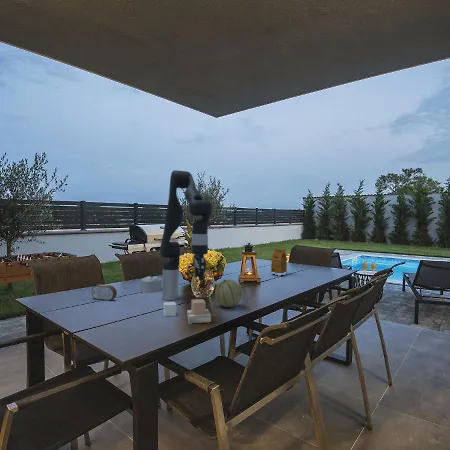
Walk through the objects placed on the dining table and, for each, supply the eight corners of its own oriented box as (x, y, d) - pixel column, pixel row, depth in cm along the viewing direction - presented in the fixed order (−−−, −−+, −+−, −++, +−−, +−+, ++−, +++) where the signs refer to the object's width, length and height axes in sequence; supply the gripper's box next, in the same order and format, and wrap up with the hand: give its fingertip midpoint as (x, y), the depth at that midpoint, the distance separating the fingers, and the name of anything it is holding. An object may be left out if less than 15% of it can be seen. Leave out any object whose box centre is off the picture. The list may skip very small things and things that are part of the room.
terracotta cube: (191, 311, 153) (191, 299, 152) (202, 310, 154) (202, 299, 154) (193, 314, 147) (193, 302, 147) (205, 314, 149) (205, 302, 149)
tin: (116, 300, 184) (117, 285, 184) (113, 301, 181) (113, 286, 181) (94, 297, 188) (94, 283, 188) (90, 299, 185) (90, 284, 185)
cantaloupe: (247, 306, 175) (248, 279, 174) (229, 312, 164) (230, 283, 163) (227, 301, 184) (227, 275, 184) (208, 306, 173) (209, 278, 173)
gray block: (187, 318, 155) (187, 310, 155) (207, 317, 157) (207, 309, 157) (188, 325, 145) (189, 316, 145) (211, 324, 147) (211, 315, 147)
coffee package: (277, 273, 276) (278, 247, 275) (288, 275, 266) (288, 249, 265) (268, 274, 270) (269, 248, 269) (279, 277, 260) (280, 249, 259)
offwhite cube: (163, 313, 161) (163, 302, 161) (174, 312, 163) (174, 301, 162) (164, 316, 156) (164, 305, 156) (176, 315, 157) (176, 304, 157)
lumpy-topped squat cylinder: (139, 290, 208) (139, 276, 208) (156, 287, 217) (157, 274, 216) (146, 293, 200) (146, 279, 200) (165, 290, 209) (165, 277, 209)
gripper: (211, 245, 144) (210, 281, 145) (204, 242, 158) (203, 275, 158) (194, 245, 142) (194, 282, 143) (189, 242, 156) (188, 275, 156)
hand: (199, 278), depth 150 cm, fingers open, 8 cm apart
